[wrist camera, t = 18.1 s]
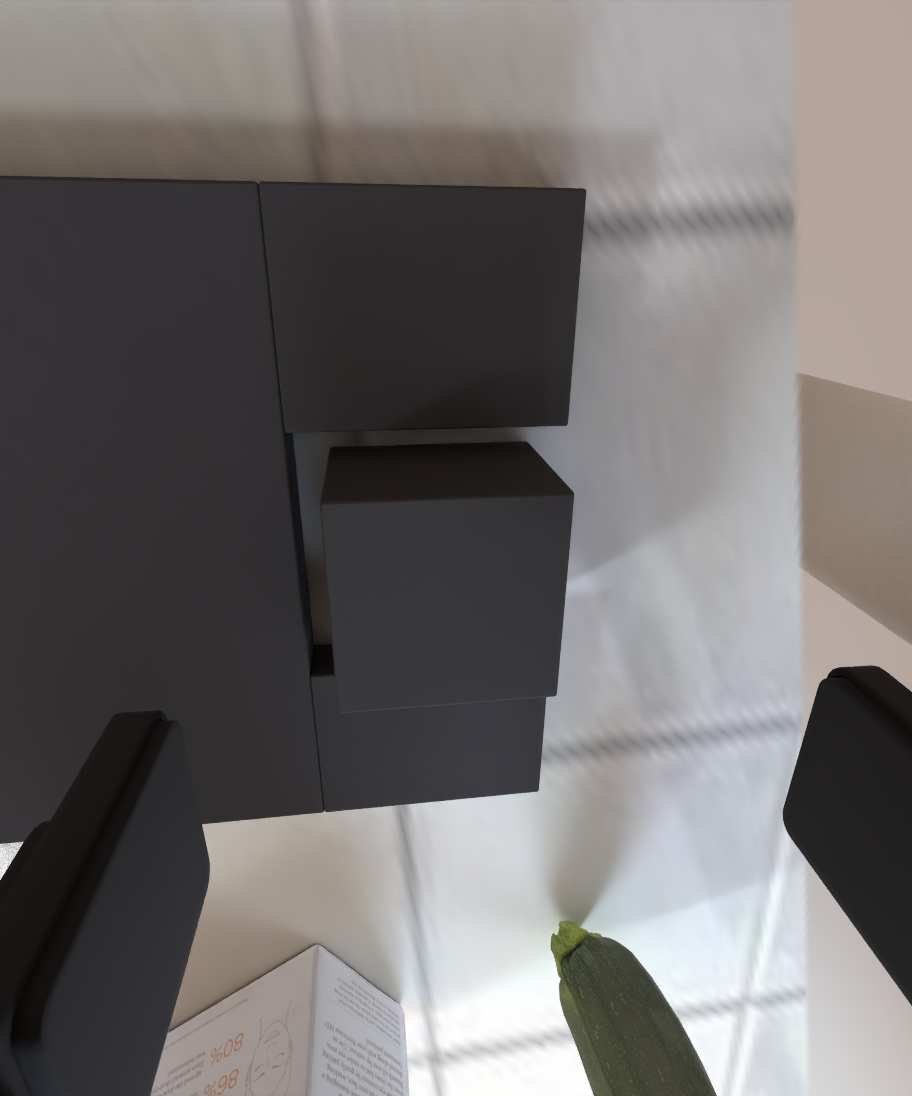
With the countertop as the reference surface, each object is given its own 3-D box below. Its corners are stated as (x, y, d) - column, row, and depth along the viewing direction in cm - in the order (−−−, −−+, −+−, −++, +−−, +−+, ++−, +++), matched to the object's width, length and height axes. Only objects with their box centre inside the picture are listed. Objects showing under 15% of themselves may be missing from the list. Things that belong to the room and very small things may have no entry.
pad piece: (528, 440, 16) (575, 492, 13) (518, 611, 18) (557, 697, 15) (329, 446, 16) (320, 502, 12) (342, 622, 18) (338, 714, 14)
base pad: (565, 195, 14) (587, 188, 13) (527, 757, 21) (539, 792, 19) (-372, 175, 12) (-467, 164, 10) (-80, 812, 18) (-115, 856, 17)
